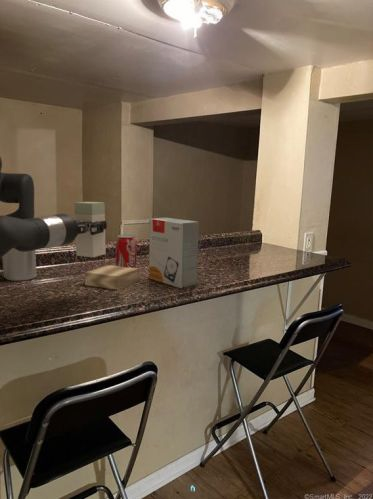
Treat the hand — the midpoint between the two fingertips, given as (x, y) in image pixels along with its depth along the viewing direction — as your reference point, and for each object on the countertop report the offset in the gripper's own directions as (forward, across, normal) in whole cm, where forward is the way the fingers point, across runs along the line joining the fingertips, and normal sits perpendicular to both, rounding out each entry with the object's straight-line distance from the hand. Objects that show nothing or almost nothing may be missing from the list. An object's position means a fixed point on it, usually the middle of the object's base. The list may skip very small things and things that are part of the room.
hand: (95, 224), depth 107 cm
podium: (+12, +3, +20) cm, 24 cm away
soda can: (+26, +7, +20) cm, 34 cm away
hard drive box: (+22, -13, +20) cm, 33 cm away
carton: (-3, 0, +8) cm, 8 cm away
